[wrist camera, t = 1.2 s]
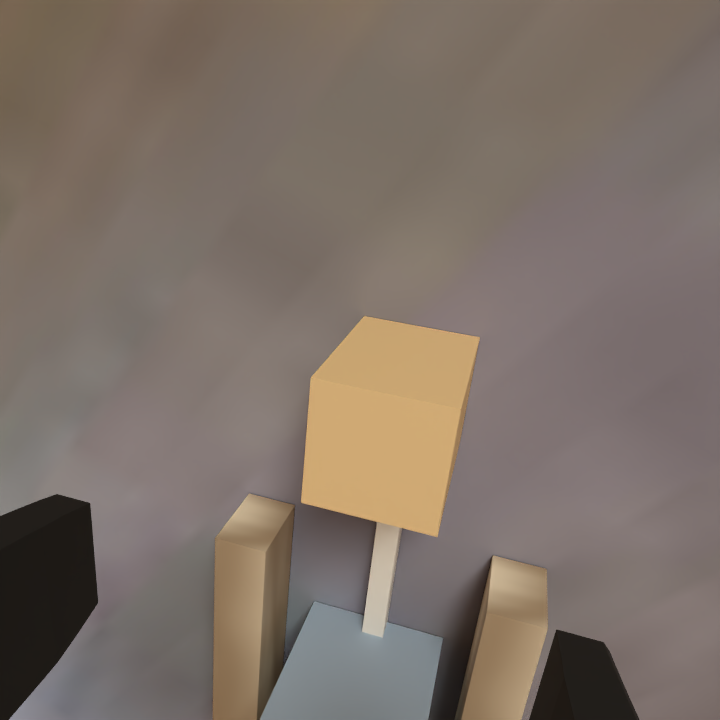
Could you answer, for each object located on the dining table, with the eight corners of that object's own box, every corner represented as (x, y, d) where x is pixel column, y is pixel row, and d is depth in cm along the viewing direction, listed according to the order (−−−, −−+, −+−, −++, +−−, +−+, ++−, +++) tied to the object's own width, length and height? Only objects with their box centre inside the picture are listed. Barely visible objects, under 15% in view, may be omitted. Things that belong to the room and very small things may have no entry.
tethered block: (504, 342, 16) (490, 439, 11) (423, 730, 22) (391, 906, 17) (342, 311, 17) (263, 390, 12) (305, 693, 23) (242, 850, 18)
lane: (546, 568, 19) (547, 640, 16) (478, 814, 23) (471, 900, 20) (249, 493, 20) (208, 546, 18) (239, 733, 25) (206, 802, 22)
